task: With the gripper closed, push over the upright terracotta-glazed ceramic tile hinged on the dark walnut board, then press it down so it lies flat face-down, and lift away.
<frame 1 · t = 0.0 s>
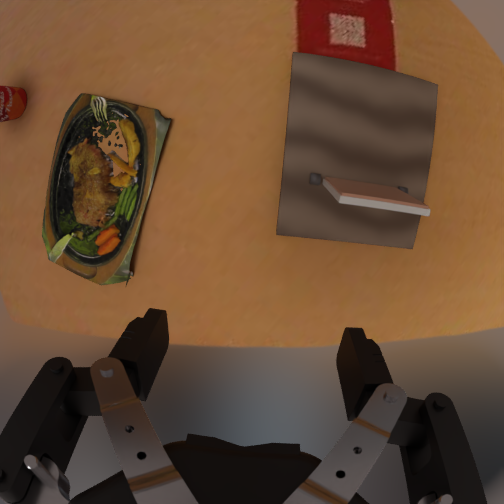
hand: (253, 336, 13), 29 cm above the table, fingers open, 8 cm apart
tile: (372, 193, 32), point 7 cm above the table, hinge at 90.0°
paper cup: (17, 102, 36), on the table
prepared meal: (98, 190, 42), on the table
walnut board: (360, 153, 37), on the table
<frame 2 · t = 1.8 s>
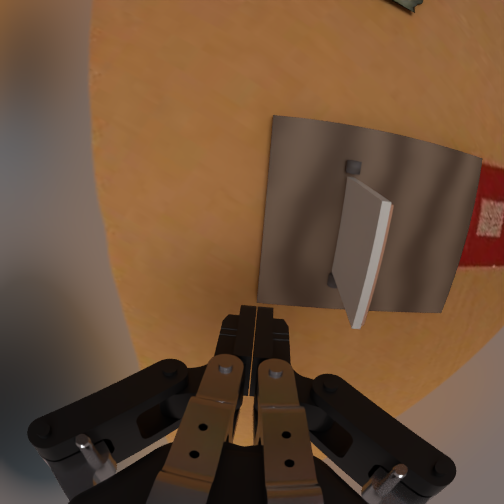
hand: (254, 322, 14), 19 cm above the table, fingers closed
tile: (357, 245, 25), point 7 cm above the table, hinge at 90.0°
walnut board: (374, 224, 32), on the table
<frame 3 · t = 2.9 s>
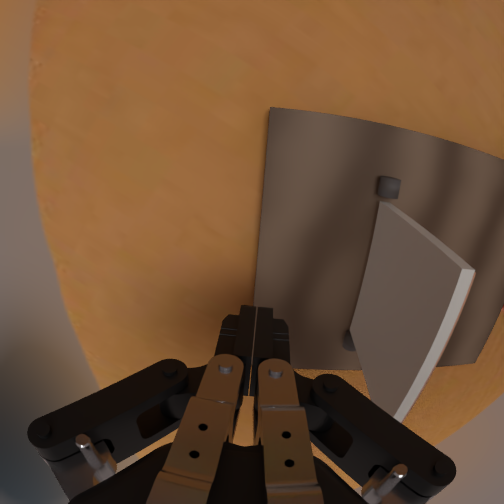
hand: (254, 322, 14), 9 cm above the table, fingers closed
tile: (395, 311, 16), point 7 cm above the table, hinge at 90.0°
walnut board: (408, 263, 22), on the table
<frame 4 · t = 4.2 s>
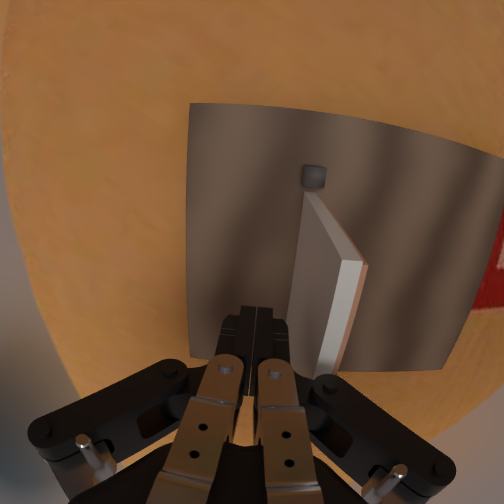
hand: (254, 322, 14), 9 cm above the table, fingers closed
tile: (311, 307, 16), point 7 cm above the table, hinge at 92.3°, touching gripper
walnut board: (352, 258, 22), on the table
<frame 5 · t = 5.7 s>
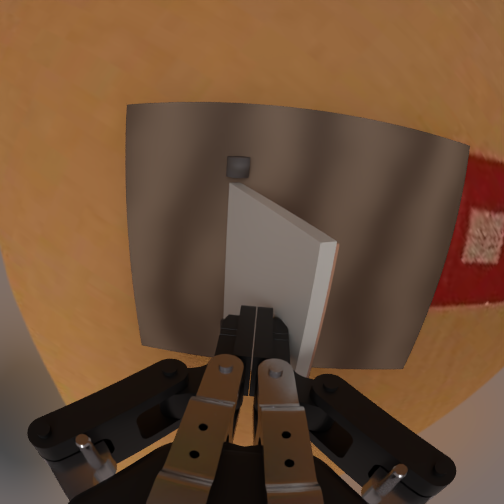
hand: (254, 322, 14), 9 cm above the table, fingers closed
tile: (262, 294, 17), point 7 cm above the table, hinge at 116.4°, touching gripper
walnut board: (291, 250, 23), on the table
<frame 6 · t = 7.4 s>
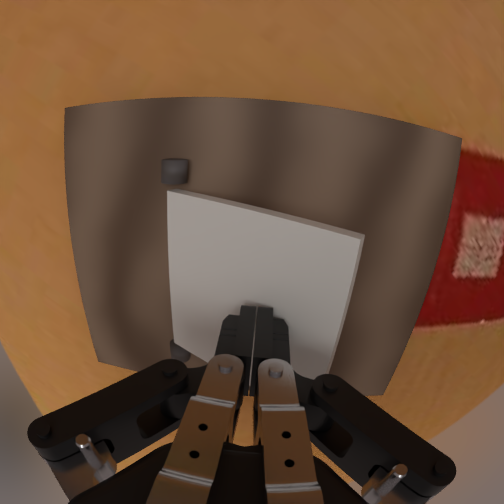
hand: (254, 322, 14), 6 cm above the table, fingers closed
tile: (245, 304, 15), point 5 cm above the table, hinge at 151.2°, touching gripper
walnut board: (246, 264, 20), on the table
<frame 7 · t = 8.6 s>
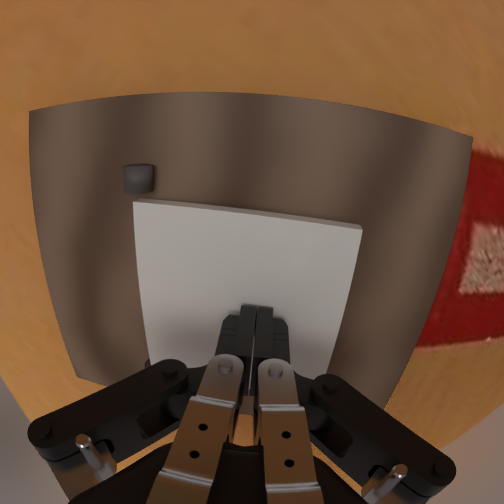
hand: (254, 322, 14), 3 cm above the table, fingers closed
tile: (236, 310, 15), point 3 cm above the table, hinge at 173.9°, touching gripper
walnut board: (225, 281, 17), on the table
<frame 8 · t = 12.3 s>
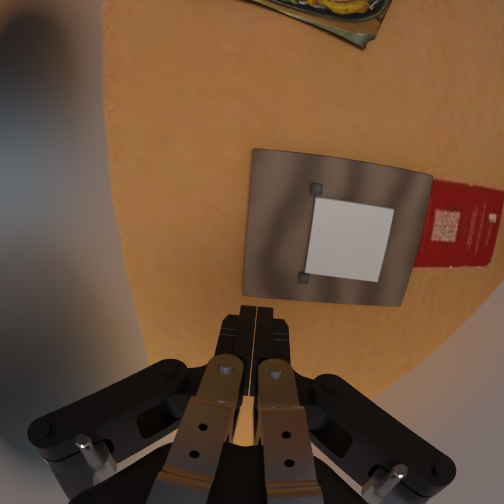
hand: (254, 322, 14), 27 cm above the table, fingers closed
tile: (348, 240, 38), point 3 cm above the table, hinge at 174.0°
walnut board: (337, 232, 40), on the table
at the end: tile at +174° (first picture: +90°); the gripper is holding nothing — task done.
